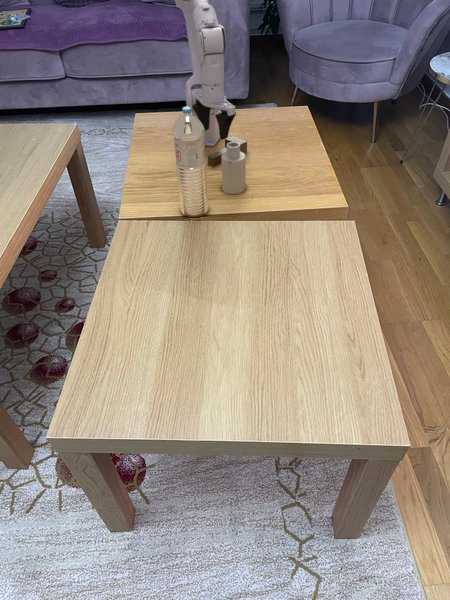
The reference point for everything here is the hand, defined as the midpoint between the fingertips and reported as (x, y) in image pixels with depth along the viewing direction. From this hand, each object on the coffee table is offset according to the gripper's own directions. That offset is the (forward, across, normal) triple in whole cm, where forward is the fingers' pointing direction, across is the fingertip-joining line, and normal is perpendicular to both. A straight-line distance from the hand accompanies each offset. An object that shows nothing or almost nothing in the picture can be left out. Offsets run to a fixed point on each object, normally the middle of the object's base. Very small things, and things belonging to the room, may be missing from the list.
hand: (214, 134), depth 123 cm
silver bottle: (+8, -14, +7) cm, 18 cm away
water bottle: (+8, -15, +21) cm, 27 cm away
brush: (+8, -1, -3) cm, 9 cm away
